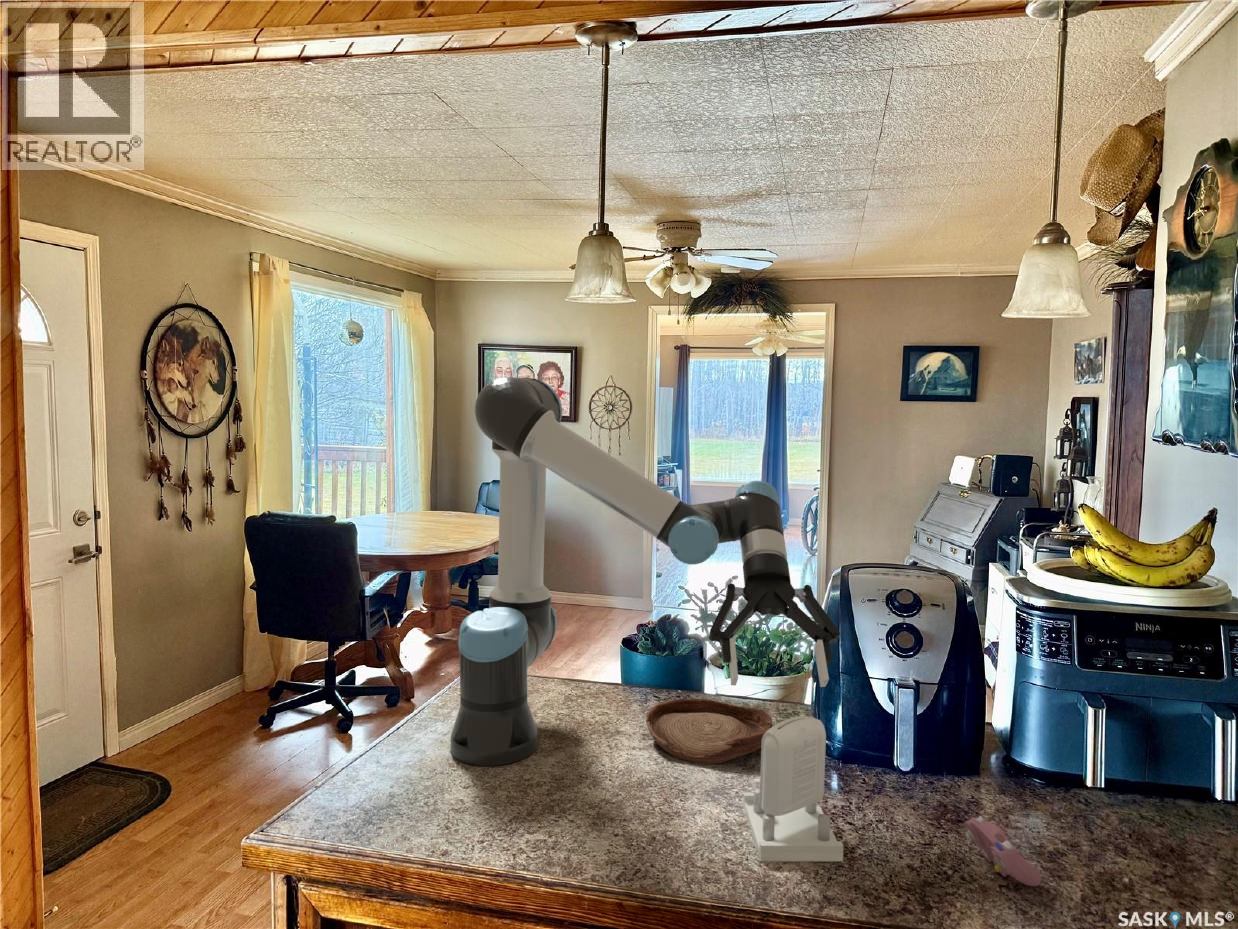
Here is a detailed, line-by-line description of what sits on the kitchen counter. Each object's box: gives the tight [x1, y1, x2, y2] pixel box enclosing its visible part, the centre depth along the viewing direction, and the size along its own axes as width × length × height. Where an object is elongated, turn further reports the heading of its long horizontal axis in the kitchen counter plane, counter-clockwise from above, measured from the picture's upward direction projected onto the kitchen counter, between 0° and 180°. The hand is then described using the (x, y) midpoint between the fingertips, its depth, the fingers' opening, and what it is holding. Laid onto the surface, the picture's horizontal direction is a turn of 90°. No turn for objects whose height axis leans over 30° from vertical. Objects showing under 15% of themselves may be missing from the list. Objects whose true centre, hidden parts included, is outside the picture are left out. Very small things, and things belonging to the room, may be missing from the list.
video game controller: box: [964, 815, 1042, 887], centre depth 104 cm, size 10×5×7 cm, turn 7°
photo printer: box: [759, 715, 827, 816], centre depth 111 cm, size 10×4×12 cm, turn 124°
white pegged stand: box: [742, 788, 844, 862], centre depth 112 cm, size 14×11×4 cm
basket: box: [645, 697, 773, 765], centre depth 141 cm, size 22×20×5 cm
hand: (779, 682), depth 119 cm, fingers open, 13 cm apart
